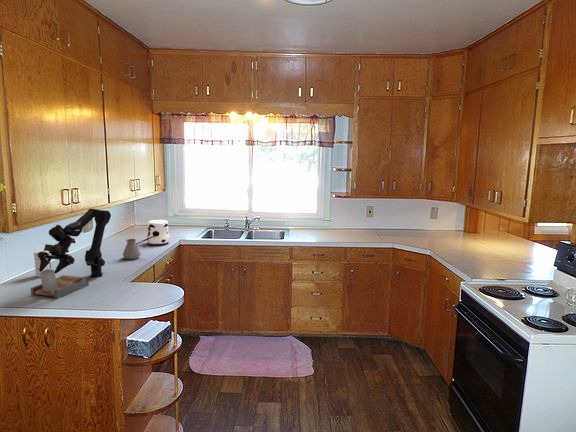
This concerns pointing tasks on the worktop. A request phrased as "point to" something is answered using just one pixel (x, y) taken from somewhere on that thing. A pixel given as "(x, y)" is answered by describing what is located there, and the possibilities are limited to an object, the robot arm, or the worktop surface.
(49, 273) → the stone
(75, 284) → the frame
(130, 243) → the coffee pot
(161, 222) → the milk container
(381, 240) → the worktop surface
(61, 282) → the trapdoor
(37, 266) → the syrup box
